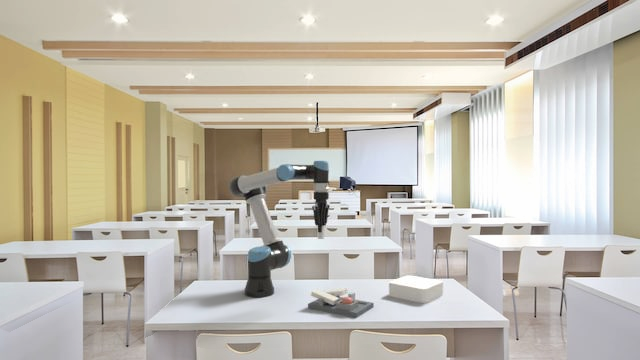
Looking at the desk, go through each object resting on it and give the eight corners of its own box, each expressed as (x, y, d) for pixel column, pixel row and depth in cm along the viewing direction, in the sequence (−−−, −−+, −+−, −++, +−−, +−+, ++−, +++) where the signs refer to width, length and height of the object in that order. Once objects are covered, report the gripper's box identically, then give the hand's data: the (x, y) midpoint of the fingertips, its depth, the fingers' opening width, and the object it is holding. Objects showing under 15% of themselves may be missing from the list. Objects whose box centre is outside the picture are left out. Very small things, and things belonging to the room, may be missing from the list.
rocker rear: (320, 297, 202) (320, 292, 202) (326, 294, 207) (325, 290, 207) (342, 295, 196) (341, 291, 196) (347, 292, 200) (346, 288, 201)
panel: (307, 308, 194) (307, 297, 194) (327, 298, 209) (327, 288, 209) (356, 317, 181) (356, 306, 181) (373, 307, 196) (373, 296, 195)
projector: (445, 294, 217) (445, 280, 217) (424, 304, 200) (424, 289, 200) (409, 287, 231) (409, 274, 231) (387, 296, 214) (387, 282, 214)
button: (340, 307, 188) (340, 298, 188) (345, 304, 192) (345, 296, 192) (349, 308, 185) (349, 300, 185) (354, 305, 189) (354, 297, 189)
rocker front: (311, 295, 196) (311, 291, 195) (316, 293, 200) (317, 289, 200) (333, 305, 190) (333, 300, 189) (338, 302, 194) (339, 298, 194)
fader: (348, 300, 197) (348, 293, 197) (351, 299, 199) (351, 292, 199) (352, 301, 196) (352, 294, 196) (355, 299, 198) (355, 292, 198)
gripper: (320, 192, 205) (320, 240, 205) (334, 191, 216) (334, 237, 216) (307, 191, 209) (307, 239, 209) (321, 190, 220) (321, 236, 220)
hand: (320, 238), depth 213 cm, fingers closed
